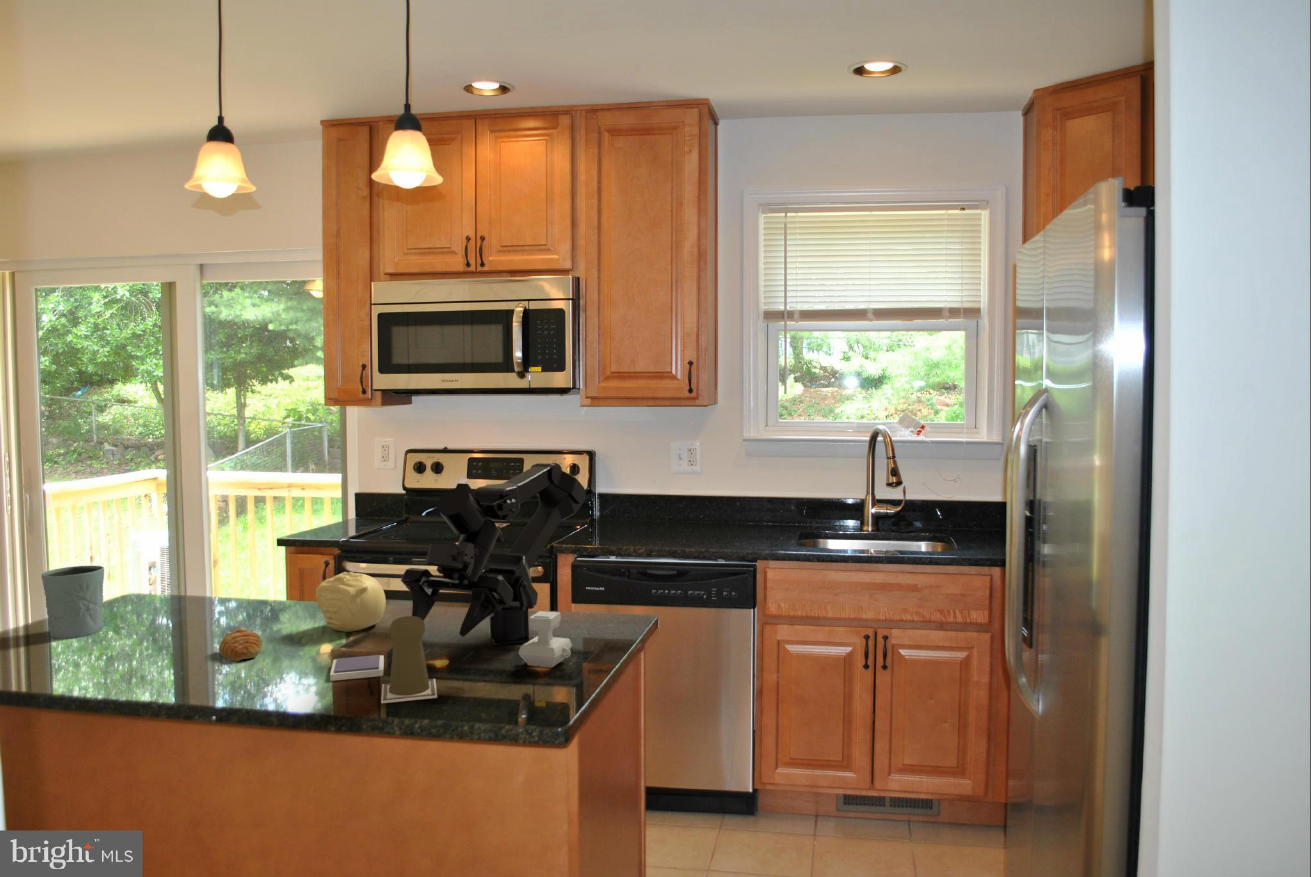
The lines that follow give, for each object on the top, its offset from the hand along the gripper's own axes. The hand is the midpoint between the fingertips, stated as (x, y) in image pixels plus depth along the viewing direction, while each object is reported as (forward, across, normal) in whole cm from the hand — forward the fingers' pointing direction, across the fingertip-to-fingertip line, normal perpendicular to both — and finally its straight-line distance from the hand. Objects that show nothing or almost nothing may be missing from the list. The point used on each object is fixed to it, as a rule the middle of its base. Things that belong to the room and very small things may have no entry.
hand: (436, 632), depth 149 cm
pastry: (+6, -40, +4) cm, 41 cm away
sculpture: (-8, -33, +19) cm, 39 cm away
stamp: (-3, +13, +14) cm, 19 cm away
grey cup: (+7, -81, +3) cm, 82 cm away
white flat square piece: (+10, 0, 0) cm, 10 cm away
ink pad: (+7, -14, +4) cm, 16 cm away
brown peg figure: (+10, 0, 0) cm, 10 cm away
